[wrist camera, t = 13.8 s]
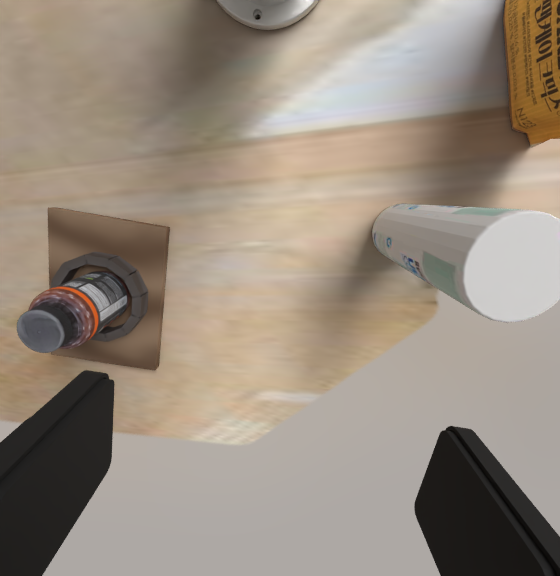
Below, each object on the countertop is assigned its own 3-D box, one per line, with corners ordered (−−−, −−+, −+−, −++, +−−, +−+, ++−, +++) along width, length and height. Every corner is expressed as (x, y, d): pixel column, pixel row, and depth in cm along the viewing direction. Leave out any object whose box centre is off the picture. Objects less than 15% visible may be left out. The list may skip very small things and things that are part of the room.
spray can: (358, 240, 38) (438, 287, 19) (393, 190, 36) (517, 186, 17) (403, 269, 39) (523, 342, 20) (438, 222, 37) (606, 251, 18)
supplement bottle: (97, 324, 40) (28, 373, 29) (71, 280, 38) (-13, 314, 27) (141, 307, 39) (87, 350, 28) (116, 261, 37) (48, 288, 27)
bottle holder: (55, 207, 37) (34, 208, 34) (169, 227, 38) (159, 230, 34) (57, 349, 42) (39, 362, 39) (158, 365, 42) (149, 378, 39)
